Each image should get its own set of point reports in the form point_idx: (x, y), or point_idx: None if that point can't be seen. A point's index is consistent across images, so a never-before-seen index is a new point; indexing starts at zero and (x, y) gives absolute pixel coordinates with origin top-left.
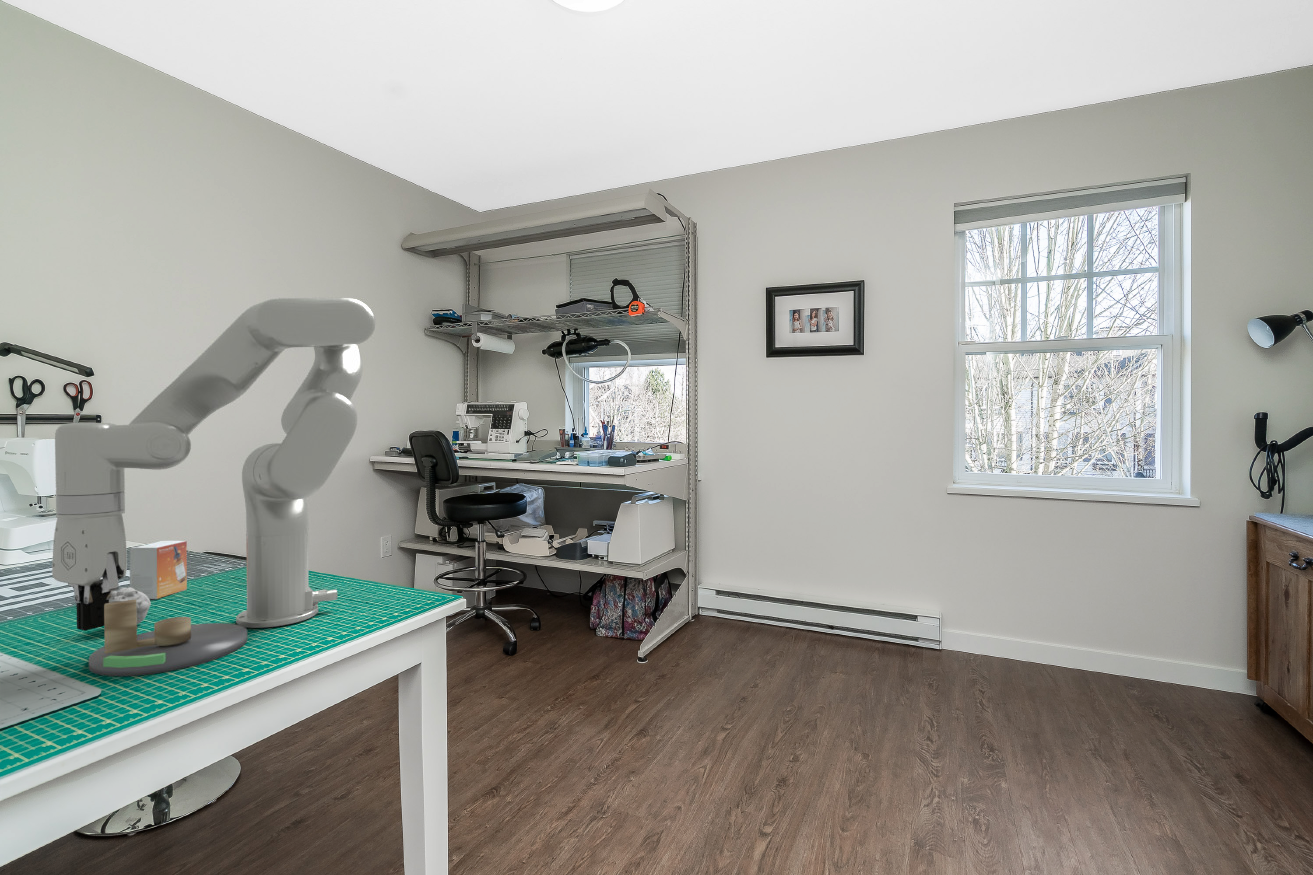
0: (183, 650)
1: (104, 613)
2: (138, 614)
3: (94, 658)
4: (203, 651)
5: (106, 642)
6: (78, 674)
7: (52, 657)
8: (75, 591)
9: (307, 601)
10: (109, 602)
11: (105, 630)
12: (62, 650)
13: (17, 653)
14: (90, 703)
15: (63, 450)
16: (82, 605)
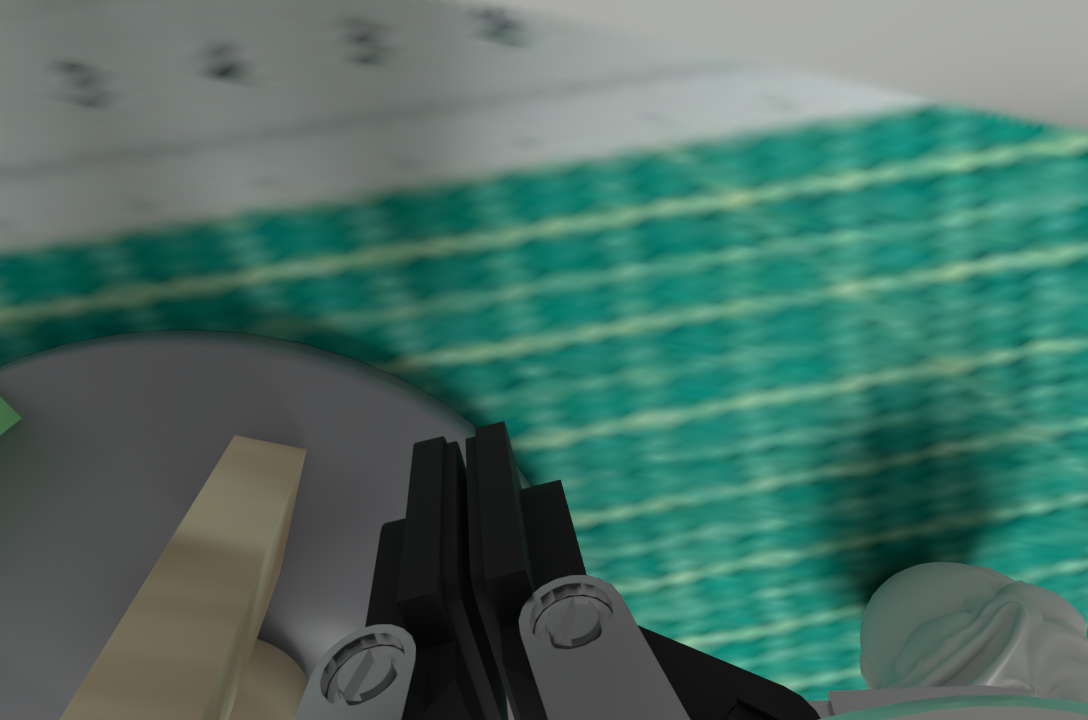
0: (16, 694)
1: (103, 654)
2: (869, 675)
3: (243, 381)
4: None
5: (212, 484)
6: (164, 273)
7: (682, 249)
8: (628, 679)
9: None
10: (996, 661)
11: (176, 539)
12: (778, 311)
13: (966, 136)
14: None
15: None
16: (398, 590)
